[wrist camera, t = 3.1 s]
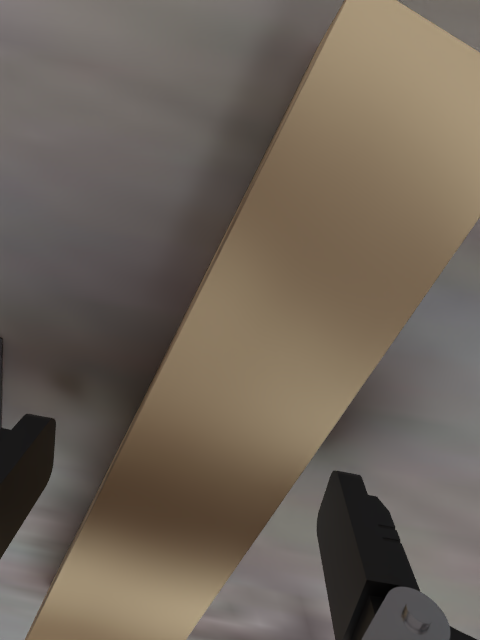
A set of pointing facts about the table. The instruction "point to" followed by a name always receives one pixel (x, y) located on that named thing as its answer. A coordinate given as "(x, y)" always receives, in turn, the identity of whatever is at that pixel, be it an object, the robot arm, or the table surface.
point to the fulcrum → (0, 375)
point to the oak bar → (282, 323)
